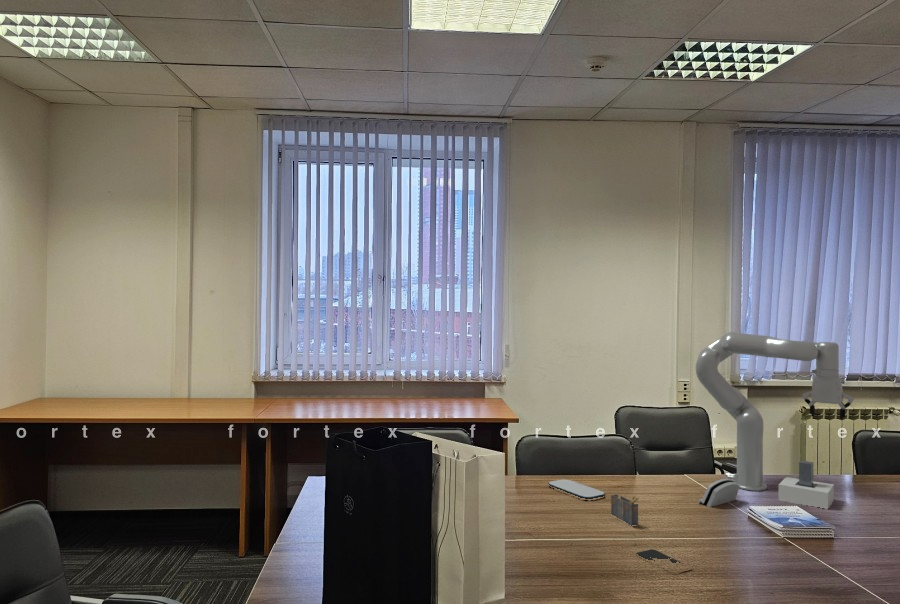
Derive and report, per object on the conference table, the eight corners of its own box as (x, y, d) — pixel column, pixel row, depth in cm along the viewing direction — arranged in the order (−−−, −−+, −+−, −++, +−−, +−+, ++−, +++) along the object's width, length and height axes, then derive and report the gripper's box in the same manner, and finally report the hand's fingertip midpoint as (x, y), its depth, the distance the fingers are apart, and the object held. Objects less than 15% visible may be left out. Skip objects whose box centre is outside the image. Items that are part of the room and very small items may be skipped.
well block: (778, 500, 229) (778, 484, 229) (786, 492, 240) (786, 476, 240) (827, 509, 219) (827, 492, 219) (833, 500, 229) (833, 484, 229)
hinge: (723, 496, 233) (731, 473, 231) (734, 503, 230) (743, 481, 227) (697, 503, 224) (705, 480, 221) (707, 511, 220) (716, 487, 218)
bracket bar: (799, 499, 229) (799, 462, 229) (801, 497, 232) (801, 460, 232) (811, 501, 226) (811, 464, 226) (813, 499, 229) (813, 462, 229)
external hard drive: (544, 487, 245) (544, 482, 245) (566, 483, 251) (566, 478, 251) (586, 503, 225) (586, 498, 225) (608, 498, 231) (608, 493, 231)
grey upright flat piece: (639, 527, 200) (639, 497, 201) (631, 528, 199) (631, 498, 200) (618, 516, 211) (618, 488, 211) (611, 517, 210) (611, 488, 210)
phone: (674, 573, 163) (634, 553, 177) (674, 576, 163) (634, 555, 177) (694, 568, 166) (653, 548, 180) (694, 571, 166) (653, 551, 180)
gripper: (800, 372, 239) (800, 416, 239) (852, 376, 228) (852, 421, 228) (803, 371, 245) (803, 413, 245) (854, 374, 234) (855, 419, 233)
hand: (827, 417), depth 236 cm, fingers open, 9 cm apart
